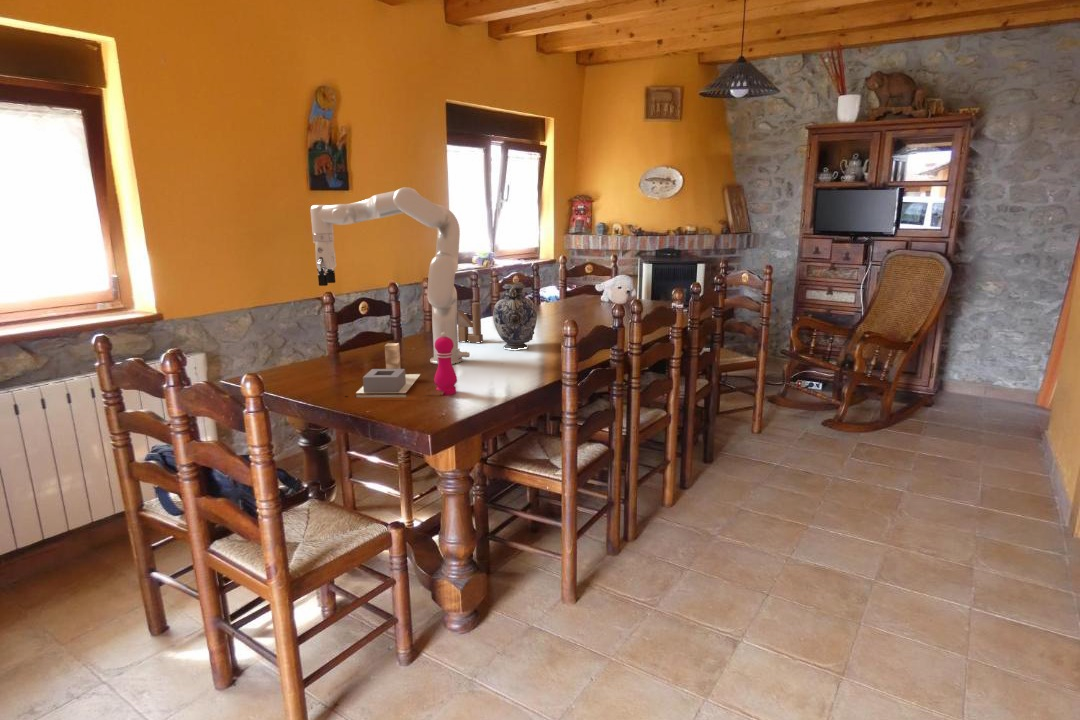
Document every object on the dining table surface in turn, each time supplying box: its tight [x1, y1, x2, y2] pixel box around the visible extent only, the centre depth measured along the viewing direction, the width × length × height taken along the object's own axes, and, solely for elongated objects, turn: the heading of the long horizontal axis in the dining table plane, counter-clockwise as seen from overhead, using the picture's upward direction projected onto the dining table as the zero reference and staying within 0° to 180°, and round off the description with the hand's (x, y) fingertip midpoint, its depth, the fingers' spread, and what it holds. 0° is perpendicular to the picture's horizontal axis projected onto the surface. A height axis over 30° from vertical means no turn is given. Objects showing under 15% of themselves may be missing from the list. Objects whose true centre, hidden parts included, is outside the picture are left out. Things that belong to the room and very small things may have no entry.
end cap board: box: [355, 368, 421, 399], centre depth 215 cm, size 16×24×6 cm, turn 179°
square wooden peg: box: [384, 342, 402, 369], centre depth 220 cm, size 4×4×12 cm
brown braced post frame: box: [457, 302, 484, 342], centre depth 288 cm, size 4×11×18 cm, turn 69°
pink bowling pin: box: [433, 332, 458, 396], centre depth 207 cm, size 7×7×20 cm
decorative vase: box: [492, 281, 538, 349], centre depth 274 cm, size 21×19×28 cm
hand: (327, 284), depth 246 cm, fingers open, 9 cm apart
